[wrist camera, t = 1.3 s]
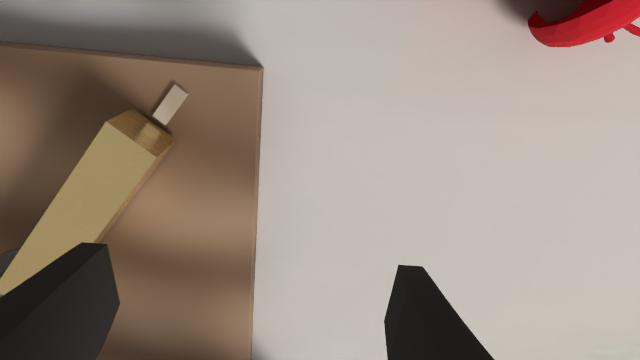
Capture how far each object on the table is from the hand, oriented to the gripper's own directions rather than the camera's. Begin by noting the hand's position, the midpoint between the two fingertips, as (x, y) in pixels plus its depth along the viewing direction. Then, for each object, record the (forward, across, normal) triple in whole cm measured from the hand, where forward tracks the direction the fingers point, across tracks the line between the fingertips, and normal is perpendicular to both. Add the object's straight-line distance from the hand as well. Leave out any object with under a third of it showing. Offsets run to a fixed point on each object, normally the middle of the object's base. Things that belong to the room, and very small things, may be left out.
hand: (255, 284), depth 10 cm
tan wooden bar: (+7, +8, +4) cm, 12 cm away
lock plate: (+8, +11, +6) cm, 15 cm away
